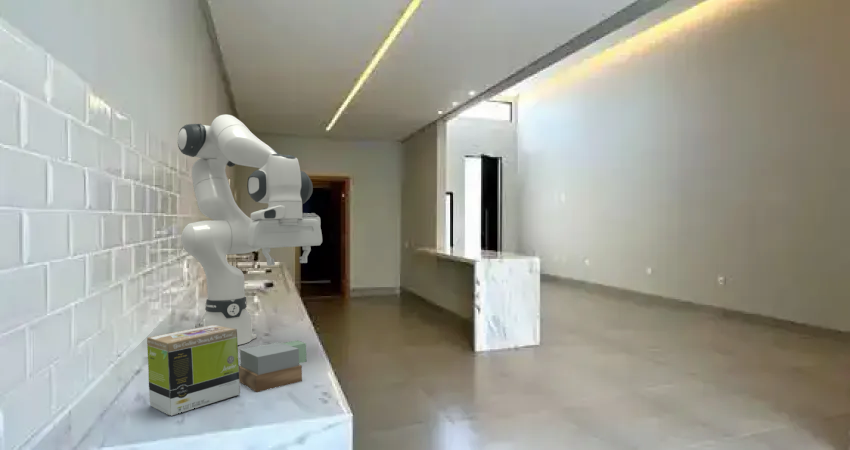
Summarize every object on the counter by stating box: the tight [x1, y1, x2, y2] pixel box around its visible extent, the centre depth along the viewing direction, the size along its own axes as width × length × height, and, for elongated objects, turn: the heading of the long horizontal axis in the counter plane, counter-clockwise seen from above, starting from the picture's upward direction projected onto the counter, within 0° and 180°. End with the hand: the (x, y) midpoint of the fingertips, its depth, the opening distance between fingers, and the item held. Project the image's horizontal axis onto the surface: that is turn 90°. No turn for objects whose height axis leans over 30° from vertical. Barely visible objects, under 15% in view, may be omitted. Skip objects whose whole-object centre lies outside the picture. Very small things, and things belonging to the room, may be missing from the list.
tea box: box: [146, 325, 241, 417], centre depth 106 cm, size 15×10×15 cm, turn 141°
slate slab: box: [239, 341, 300, 375], centre depth 119 cm, size 10×10×4 cm
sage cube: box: [283, 340, 307, 364], centre depth 136 cm, size 5×5×5 cm
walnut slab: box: [239, 364, 303, 393], centre depth 119 cm, size 11×11×4 cm
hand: (287, 264), depth 136 cm, fingers open, 8 cm apart
